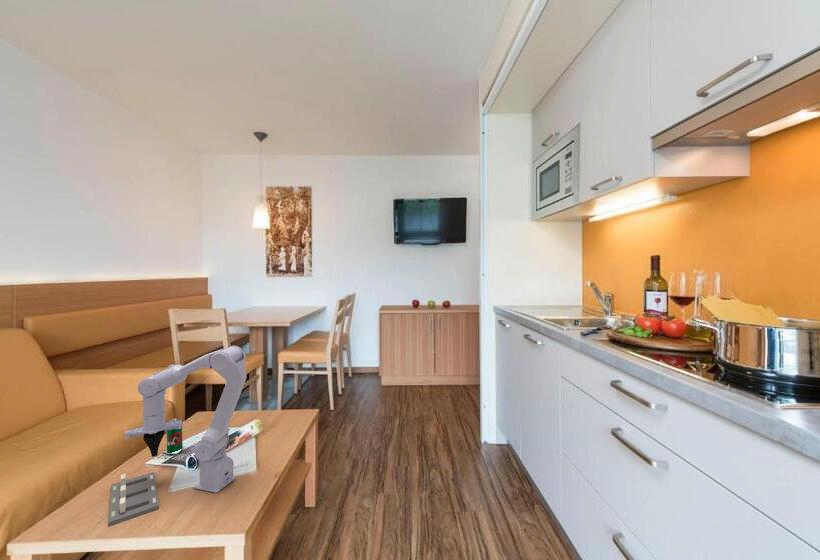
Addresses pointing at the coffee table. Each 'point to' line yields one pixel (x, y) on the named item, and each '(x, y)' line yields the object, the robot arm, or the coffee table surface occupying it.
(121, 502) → the handle
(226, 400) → the robot arm
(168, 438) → the soda can
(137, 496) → the breaker panel
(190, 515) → the coffee table surface
